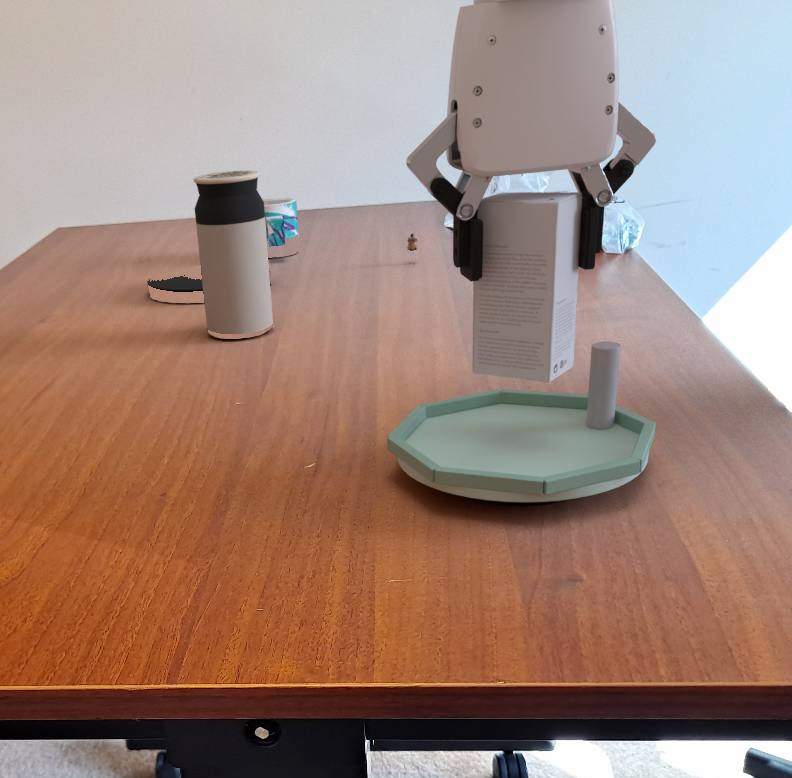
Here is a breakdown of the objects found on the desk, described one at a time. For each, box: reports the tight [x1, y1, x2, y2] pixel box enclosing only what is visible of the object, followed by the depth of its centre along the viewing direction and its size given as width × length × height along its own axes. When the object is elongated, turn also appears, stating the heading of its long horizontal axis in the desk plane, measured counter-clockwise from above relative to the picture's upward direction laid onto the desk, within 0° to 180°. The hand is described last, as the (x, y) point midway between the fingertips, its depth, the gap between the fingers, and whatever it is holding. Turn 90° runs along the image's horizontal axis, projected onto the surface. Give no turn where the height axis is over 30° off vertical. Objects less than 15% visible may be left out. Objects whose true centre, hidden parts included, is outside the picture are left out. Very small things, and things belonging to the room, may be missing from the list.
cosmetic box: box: [471, 191, 582, 383], centre depth 67 cm, size 6×4×12 cm
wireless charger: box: [146, 270, 271, 292], centre depth 141 cm, size 18×18×2 cm
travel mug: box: [193, 170, 274, 334], centre depth 114 cm, size 8×8×18 cm
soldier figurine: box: [406, 233, 418, 251], centre depth 144 cm, size 2×1×4 cm, turn 46°
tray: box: [386, 341, 657, 502], centre depth 71 cm, size 18×18×7 cm
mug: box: [262, 197, 299, 247], centre depth 158 cm, size 8×12×8 cm
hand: (525, 269), depth 67 cm, fingers closed on cosmetic box, 7 cm apart
